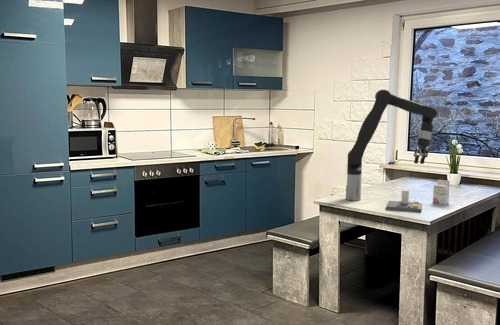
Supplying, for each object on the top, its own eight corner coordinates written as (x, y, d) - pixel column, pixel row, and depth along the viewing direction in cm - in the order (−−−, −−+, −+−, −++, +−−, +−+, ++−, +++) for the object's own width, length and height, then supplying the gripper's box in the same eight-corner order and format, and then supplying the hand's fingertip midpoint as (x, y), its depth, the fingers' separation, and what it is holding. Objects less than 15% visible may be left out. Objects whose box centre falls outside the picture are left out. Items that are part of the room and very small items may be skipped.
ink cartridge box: (432, 202, 324) (433, 180, 322) (435, 201, 328) (437, 179, 326) (445, 204, 318) (446, 181, 316) (448, 203, 322) (450, 180, 320)
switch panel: (386, 209, 303) (386, 204, 302) (388, 203, 320) (388, 198, 319) (421, 212, 296) (421, 206, 296) (421, 206, 313) (422, 200, 312)
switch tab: (401, 203, 310) (401, 190, 309) (401, 202, 314) (402, 189, 313) (408, 203, 309) (408, 191, 308) (408, 202, 313) (409, 189, 312)
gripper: (413, 137, 325) (408, 162, 325) (424, 137, 311) (418, 162, 311) (424, 140, 326) (419, 164, 326) (435, 139, 312) (429, 165, 312)
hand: (418, 163), depth 319 cm, fingers open, 8 cm apart
